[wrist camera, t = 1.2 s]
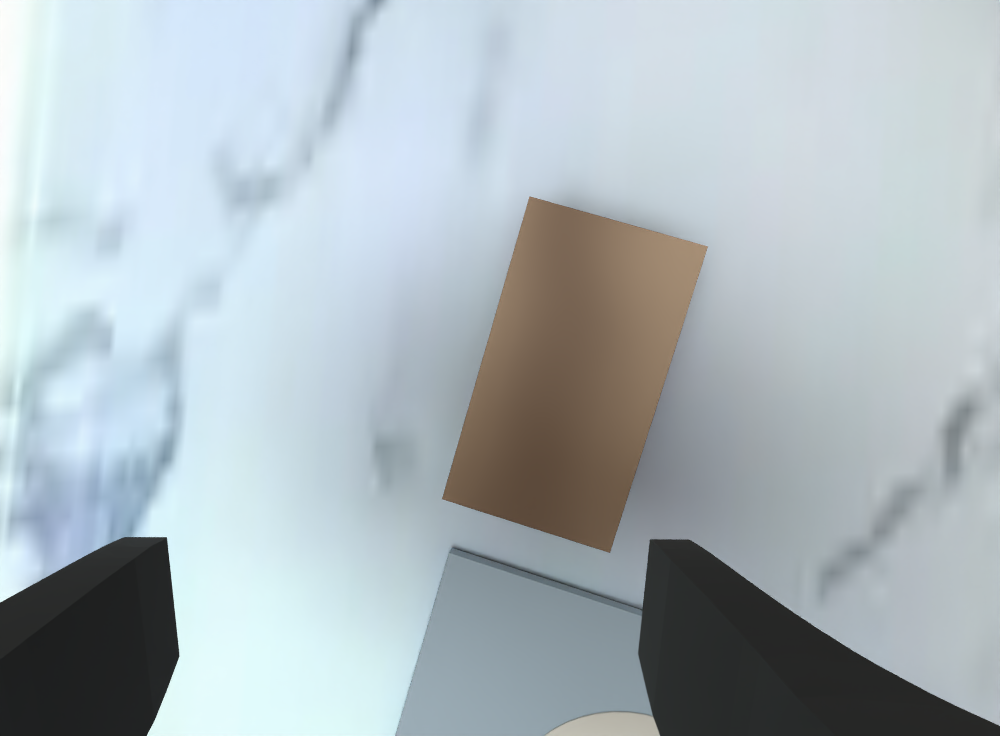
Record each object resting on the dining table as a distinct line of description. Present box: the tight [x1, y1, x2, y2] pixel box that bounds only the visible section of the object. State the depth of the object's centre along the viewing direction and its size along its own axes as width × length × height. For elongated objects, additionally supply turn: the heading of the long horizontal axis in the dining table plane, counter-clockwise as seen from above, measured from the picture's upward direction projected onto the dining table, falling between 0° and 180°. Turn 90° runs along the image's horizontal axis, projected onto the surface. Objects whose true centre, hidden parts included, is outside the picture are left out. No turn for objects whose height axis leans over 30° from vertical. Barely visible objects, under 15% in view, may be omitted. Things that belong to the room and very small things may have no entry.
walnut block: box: [442, 197, 708, 553], centre depth 21 cm, size 4×8×5 cm, turn 164°
